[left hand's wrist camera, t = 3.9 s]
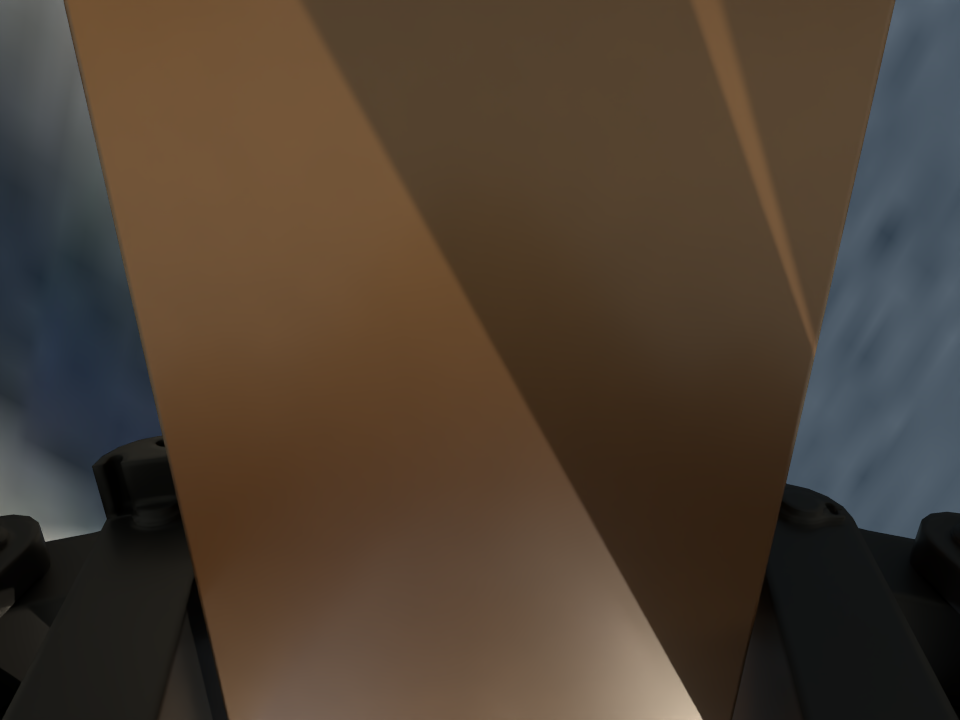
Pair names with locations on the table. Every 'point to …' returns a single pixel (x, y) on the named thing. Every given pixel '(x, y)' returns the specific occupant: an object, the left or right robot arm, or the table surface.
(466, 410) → the bar
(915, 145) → the table surface
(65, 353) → the table surface
